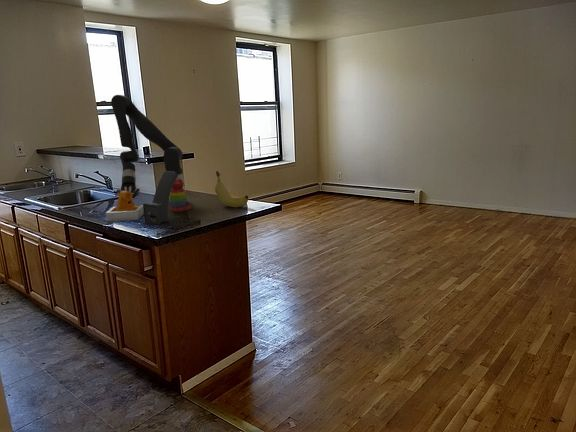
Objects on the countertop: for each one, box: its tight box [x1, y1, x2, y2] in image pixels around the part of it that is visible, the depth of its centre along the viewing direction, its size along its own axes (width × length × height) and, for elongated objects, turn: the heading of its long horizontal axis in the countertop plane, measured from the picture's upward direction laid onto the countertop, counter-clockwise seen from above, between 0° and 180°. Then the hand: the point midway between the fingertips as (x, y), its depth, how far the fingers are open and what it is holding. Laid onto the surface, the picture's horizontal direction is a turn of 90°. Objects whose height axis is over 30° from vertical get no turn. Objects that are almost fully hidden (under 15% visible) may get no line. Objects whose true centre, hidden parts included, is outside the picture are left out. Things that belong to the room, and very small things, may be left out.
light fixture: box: [142, 170, 178, 226], centre depth 224 cm, size 11×17×24 cm, turn 147°
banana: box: [214, 171, 249, 208], centre depth 250 cm, size 23×6×20 cm, turn 58°
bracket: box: [105, 204, 144, 222], centre depth 235 cm, size 16×14×4 cm
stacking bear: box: [169, 179, 192, 213], centre depth 246 cm, size 11×10×18 cm
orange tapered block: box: [116, 191, 140, 211], centre depth 245 cm, size 11×7×12 cm, turn 146°
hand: (128, 203), depth 248 cm, fingers closed
